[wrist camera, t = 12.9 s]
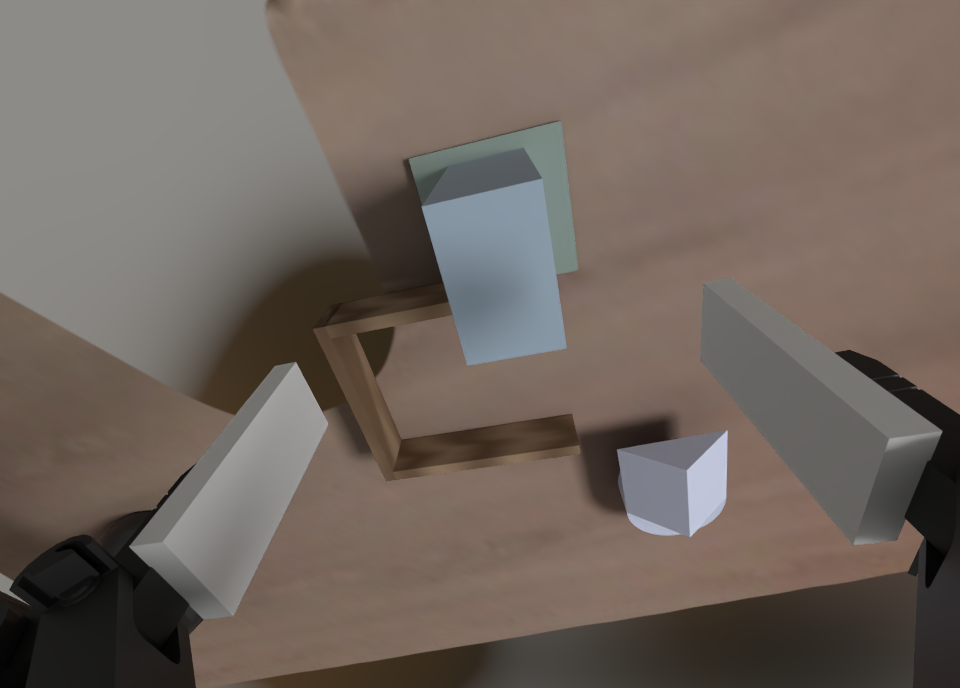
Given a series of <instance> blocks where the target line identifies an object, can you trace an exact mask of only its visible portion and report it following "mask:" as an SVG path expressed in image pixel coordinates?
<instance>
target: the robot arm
mask: <svg viewBox="0 0 960 688" xmlns="http://www.w3.org/2000/svg"><path fill="white" fill-rule="evenodd" d="M700 360H701V362H702V363H703V364H704V365H705V366H706V368H707V369H708V370H709V371H710V372H711V374H712V375H713V376H714V377H715V379H716V380H717V381H718V382H719V383H720V385H721V386H722V387H723V388H724V389H725V391H726V392H727V393H728V394H729V395H730V397H731V398H732V399H733V400H734V402H735V403H736V404H737V405H738V406H739V408H740V409H741V410H742V411H743V412H744V414H745V415H746V416H747V417H748V419H749V420H750V421H751V422H752V423H753V425H754V426H755V427H756V428H757V429H758V431H759V432H760V433H761V434H762V436H763V437H764V438H765V439H766V440H767V442H768V443H769V444H770V445H771V446H772V448H773V449H774V450H775V451H776V453H777V454H778V455H779V456H780V457H781V459H782V460H783V461H784V462H785V463H786V465H787V466H788V467H789V468H790V469H791V471H792V472H793V473H794V474H795V476H796V477H797V478H798V479H799V480H800V482H801V483H802V484H803V485H804V486H805V488H806V489H807V490H808V491H809V493H810V494H811V495H812V496H813V497H814V499H815V500H816V501H817V502H818V503H819V505H820V506H821V507H822V508H823V510H824V511H825V512H826V513H827V514H828V516H829V517H830V518H831V519H832V520H833V522H834V523H835V524H836V525H837V527H838V528H839V529H840V530H841V531H842V533H843V534H844V535H845V536H846V537H847V539H848V540H849V541H850V542H851V544H852V545H859V544H867V543H876V542H885V541H894V540H897V539H898V536H899V534H900V532H901V529H902V527H903V525H904V522H905V520H906V519H907V520H908V521H909V522H910V523H911V524H912V525H913V526H914V527H915V528H916V529H917V530H918V531H919V532H920V533H921V534H922V535H923V536H924V539H923V541H922V543H921V546H920V548H919V550H918V552H917V554H916V556H915V558H914V561H913V563H912V565H911V567H910V569H909V571H908V574H911V575H913V576H917V574H918V587H917V608H916V631H915V654H914V677H913V688H960V415H959V414H958V413H956V412H955V411H953V410H952V409H950V408H949V407H947V406H946V405H944V404H943V403H941V402H940V401H938V400H937V399H935V398H934V397H932V396H931V395H929V394H928V393H926V392H925V391H923V390H922V389H921V390H918V389H917V386H916V385H914V384H912V383H911V382H909V381H908V380H906V379H905V378H903V377H902V378H900V377H899V374H897V373H896V372H894V371H893V370H891V369H890V368H888V367H887V366H885V365H884V364H882V363H881V362H879V361H878V360H875V359H873V358H870V357H867V356H864V355H862V354H859V353H856V352H854V351H851V350H847V351H841V352H835V353H834V352H833V351H831V350H830V349H828V348H827V347H826V346H824V345H823V344H821V343H820V342H819V341H817V340H816V339H815V338H813V337H812V336H810V335H809V334H808V333H806V332H805V331H803V330H802V329H801V328H799V327H798V326H797V325H795V324H794V323H792V322H791V321H790V320H788V319H787V318H785V317H784V316H783V315H781V314H780V313H779V312H777V311H776V310H774V309H773V308H772V307H770V306H769V305H767V304H766V303H765V302H763V301H762V300H761V299H759V298H758V297H756V296H755V295H754V294H752V293H751V292H750V291H748V290H747V289H745V288H744V287H743V286H741V285H740V284H738V283H737V282H736V281H734V280H733V279H732V278H726V279H721V280H716V281H711V282H706V283H703V303H702V328H701V353H700ZM327 426H328V422H327V420H326V418H325V417H324V415H323V413H322V411H321V409H320V407H319V405H318V403H317V401H316V399H315V398H314V396H313V394H312V392H311V390H310V388H309V386H308V384H307V382H306V380H305V379H304V377H303V375H302V373H301V371H300V369H299V367H298V365H297V363H296V362H294V363H289V364H284V365H279V366H275V367H274V368H273V369H272V371H271V372H270V373H269V374H268V376H267V377H266V378H265V379H264V381H263V382H262V383H261V384H260V385H259V387H258V388H257V389H256V390H255V392H254V393H253V394H252V395H251V397H250V398H249V399H248V400H247V401H246V403H245V404H244V405H243V406H242V408H241V409H240V410H239V412H238V413H237V414H236V415H235V416H234V418H233V419H232V420H231V421H230V423H229V424H228V425H227V426H226V427H225V429H224V430H223V431H222V432H221V434H220V435H219V436H218V437H217V439H216V440H215V441H214V442H213V444H212V445H211V446H210V447H209V448H208V450H207V451H206V452H205V453H204V455H203V456H202V457H201V458H200V460H199V461H198V462H197V463H196V464H195V465H193V466H192V467H191V468H190V469H189V470H187V471H186V472H185V473H184V474H183V475H181V477H180V478H179V479H178V480H177V481H176V483H175V484H174V485H173V486H172V487H171V489H170V490H169V491H168V495H165V496H164V497H163V498H162V500H161V501H160V502H159V503H158V505H157V509H153V511H152V512H140V513H134V514H131V515H128V516H126V517H124V518H122V519H120V520H119V521H118V522H117V523H116V524H115V525H114V526H113V527H112V529H111V530H110V531H109V532H108V533H107V534H106V535H105V537H104V538H103V539H102V541H101V542H100V544H98V543H97V542H96V541H95V540H94V539H93V538H92V537H91V536H88V535H79V536H75V537H71V538H69V539H67V540H65V541H63V542H61V543H58V544H56V545H55V546H53V547H52V548H50V549H49V550H47V551H46V552H44V553H43V554H41V555H40V556H39V557H37V558H36V559H35V560H34V561H33V562H31V563H30V564H29V565H28V566H27V567H26V568H25V569H24V570H23V571H22V572H21V573H20V574H19V575H18V577H17V578H16V579H15V580H14V582H13V584H12V586H11V588H10V591H11V592H13V593H14V594H15V595H17V596H18V597H20V598H21V599H22V600H23V601H25V602H26V603H28V604H29V605H28V604H26V603H24V602H22V601H20V600H18V599H15V598H13V597H11V596H9V595H7V594H5V593H3V592H1V591H0V688H196V685H195V677H194V670H193V662H192V654H191V647H190V639H189V635H190V633H191V632H192V631H193V630H194V629H195V628H196V627H197V626H198V625H199V624H200V623H201V622H202V621H203V620H204V619H211V618H220V617H229V616H234V614H235V612H236V609H237V607H238V605H239V603H240V601H241V599H242V597H243V595H244V593H245V591H246V589H247V587H248V585H249V583H250V581H251V579H252V577H253V575H254V573H255V571H256V569H257V567H258V565H259V563H260V561H261V559H262V557H263V555H264V553H265V551H266V549H267V547H268V545H269V543H270V541H271V539H272V537H273V535H274V533H275V531H276V529H277V527H278V525H279V523H280V521H281V519H282V517H283V515H284V513H285V511H286V509H287V507H288V505H289V503H290V501H291V499H292V497H293V495H294V493H295V491H296V489H297V487H298V485H299V482H300V480H301V478H302V476H303V474H304V472H305V470H306V468H307V466H308V464H309V462H310V460H311V458H312V456H313V454H314V452H315V450H316V448H317V446H318V444H319V442H320V440H321V438H322V436H323V434H324V432H325V430H326V428H327Z"/></svg>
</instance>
